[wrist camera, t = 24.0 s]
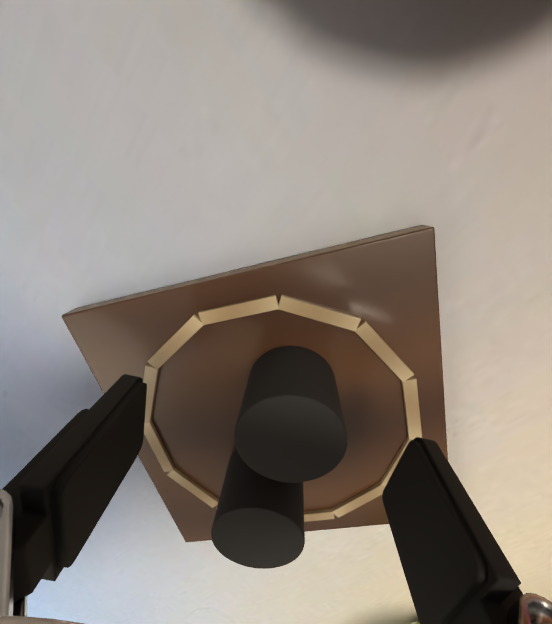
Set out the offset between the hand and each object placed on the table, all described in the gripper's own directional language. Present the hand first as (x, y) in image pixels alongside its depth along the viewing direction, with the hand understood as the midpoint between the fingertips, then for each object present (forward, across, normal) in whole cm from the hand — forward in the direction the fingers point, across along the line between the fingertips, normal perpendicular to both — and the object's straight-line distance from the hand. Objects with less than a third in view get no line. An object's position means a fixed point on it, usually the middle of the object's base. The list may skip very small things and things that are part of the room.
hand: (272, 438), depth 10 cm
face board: (+4, -1, +3) cm, 5 cm away
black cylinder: (+4, -1, 0) cm, 4 cm away
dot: (+4, -1, +6) cm, 7 cm away
